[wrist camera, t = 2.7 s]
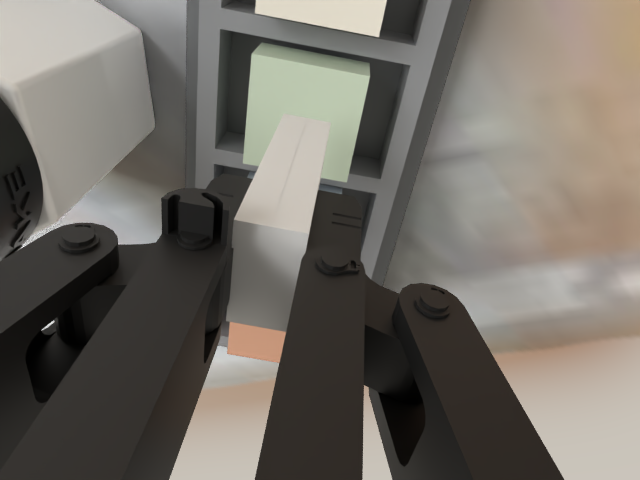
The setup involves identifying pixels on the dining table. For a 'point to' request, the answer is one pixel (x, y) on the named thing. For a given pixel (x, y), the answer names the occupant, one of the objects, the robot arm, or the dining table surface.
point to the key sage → (305, 101)
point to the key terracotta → (255, 342)
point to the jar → (64, 107)
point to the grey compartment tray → (377, 116)
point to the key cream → (329, 13)
